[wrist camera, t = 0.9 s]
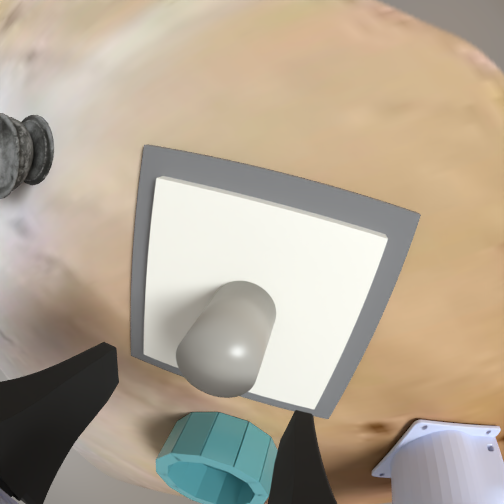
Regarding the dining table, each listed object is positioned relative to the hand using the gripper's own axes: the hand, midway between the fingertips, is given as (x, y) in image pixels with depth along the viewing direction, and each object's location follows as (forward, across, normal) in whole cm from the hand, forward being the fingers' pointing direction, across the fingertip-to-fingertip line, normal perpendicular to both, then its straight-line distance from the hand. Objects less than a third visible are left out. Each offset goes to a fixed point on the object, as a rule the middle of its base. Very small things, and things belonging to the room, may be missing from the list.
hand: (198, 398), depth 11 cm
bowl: (+8, -1, +15) cm, 17 cm away
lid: (+8, 0, 0) cm, 8 cm away
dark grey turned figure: (+8, +18, -6) cm, 21 cm away
